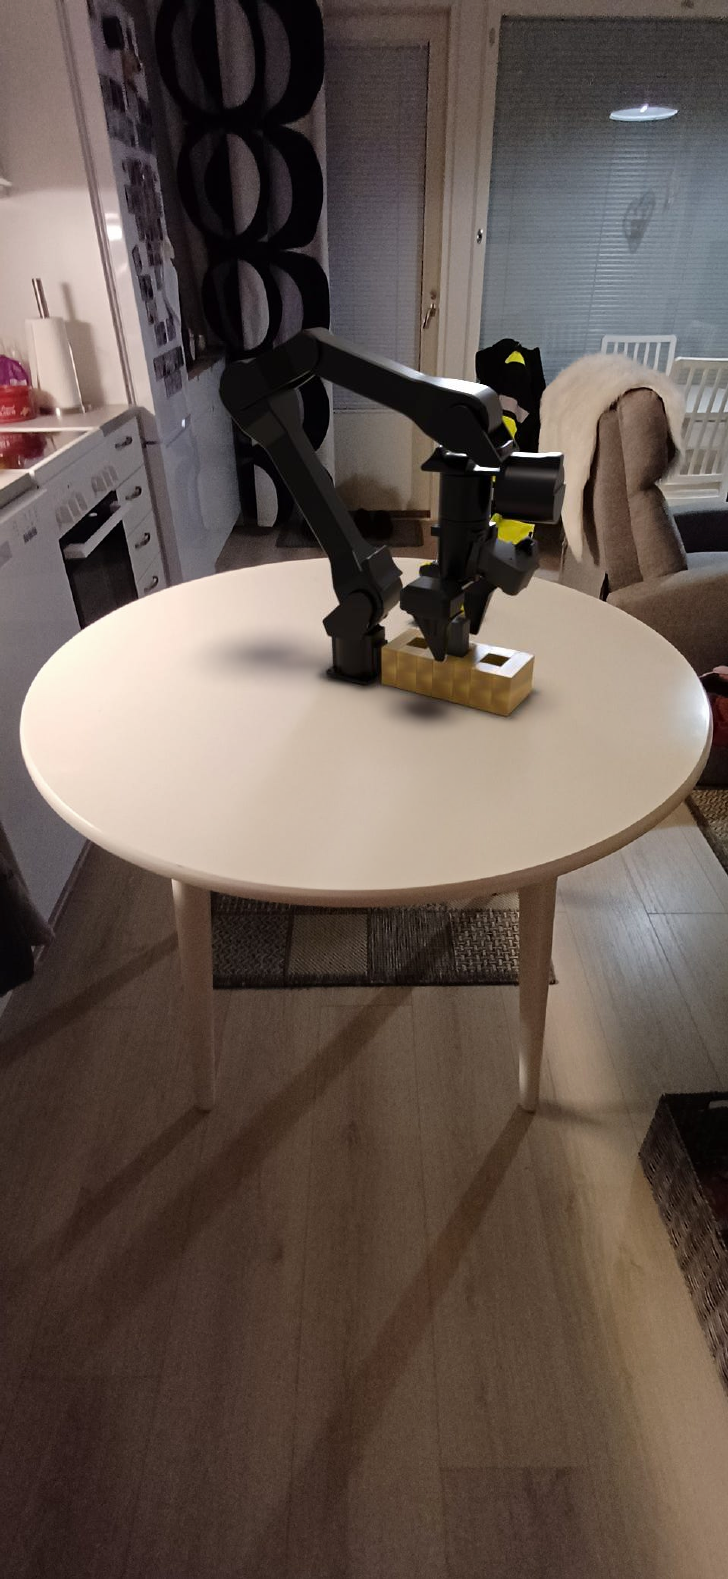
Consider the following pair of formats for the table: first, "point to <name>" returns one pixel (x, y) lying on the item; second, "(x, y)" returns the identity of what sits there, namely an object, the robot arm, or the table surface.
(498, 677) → the holder
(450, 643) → the peg
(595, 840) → the table surface
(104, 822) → the table surface
